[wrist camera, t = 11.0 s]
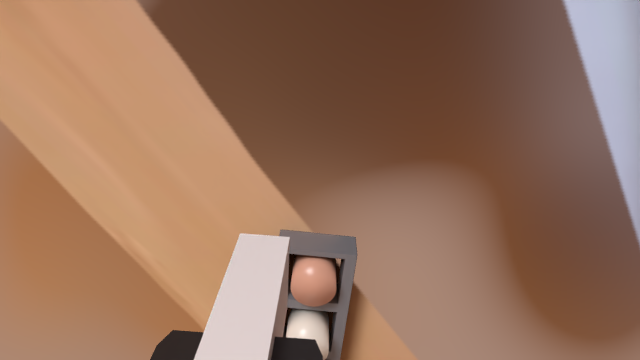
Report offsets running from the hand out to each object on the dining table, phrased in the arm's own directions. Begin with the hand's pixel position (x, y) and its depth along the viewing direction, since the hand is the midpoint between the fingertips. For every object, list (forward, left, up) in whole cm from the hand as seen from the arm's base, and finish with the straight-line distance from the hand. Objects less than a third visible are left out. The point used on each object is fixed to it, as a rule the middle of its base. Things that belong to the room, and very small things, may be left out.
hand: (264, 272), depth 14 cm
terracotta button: (+2, +17, -25) cm, 30 cm away
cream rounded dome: (+3, +23, -23) cm, 33 cm away
